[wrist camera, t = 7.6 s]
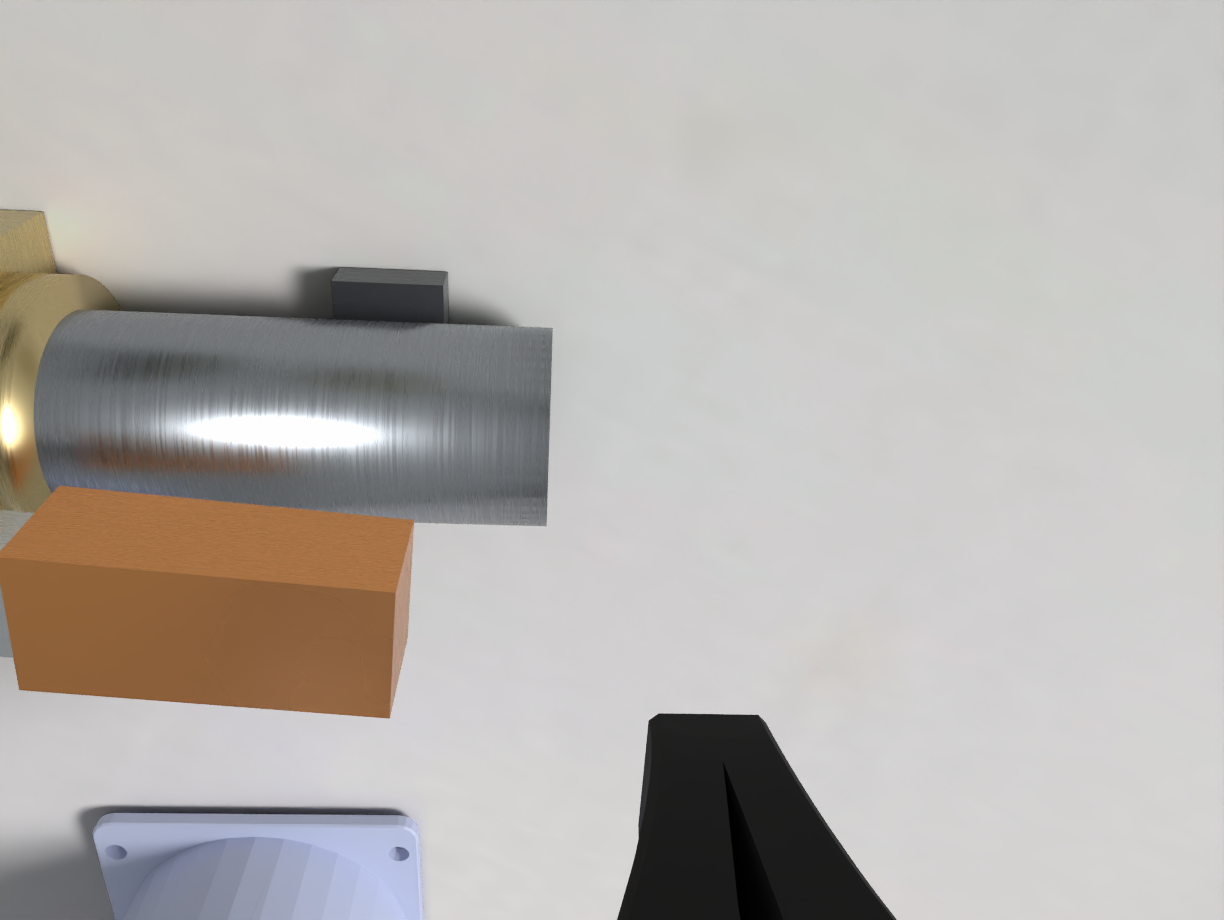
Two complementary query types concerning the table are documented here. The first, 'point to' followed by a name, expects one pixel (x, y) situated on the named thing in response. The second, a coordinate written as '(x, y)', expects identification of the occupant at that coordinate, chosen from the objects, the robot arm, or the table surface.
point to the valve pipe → (270, 398)
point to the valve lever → (205, 602)
